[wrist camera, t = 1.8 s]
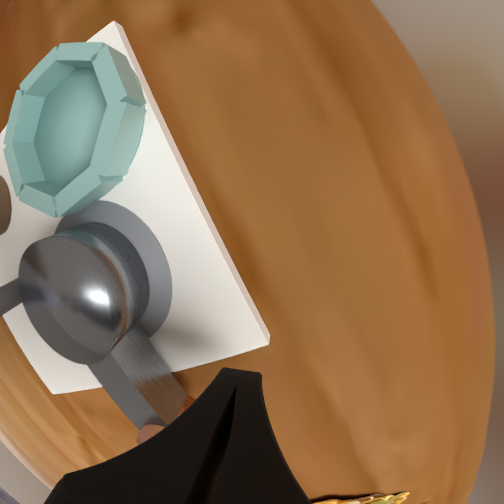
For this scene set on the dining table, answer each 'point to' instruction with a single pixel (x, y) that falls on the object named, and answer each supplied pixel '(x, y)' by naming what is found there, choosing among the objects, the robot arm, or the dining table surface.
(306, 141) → the dining table surface
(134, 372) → the grey ball-ended lever
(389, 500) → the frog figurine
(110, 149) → the socket
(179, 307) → the board
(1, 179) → the pin
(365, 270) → the dining table surface
